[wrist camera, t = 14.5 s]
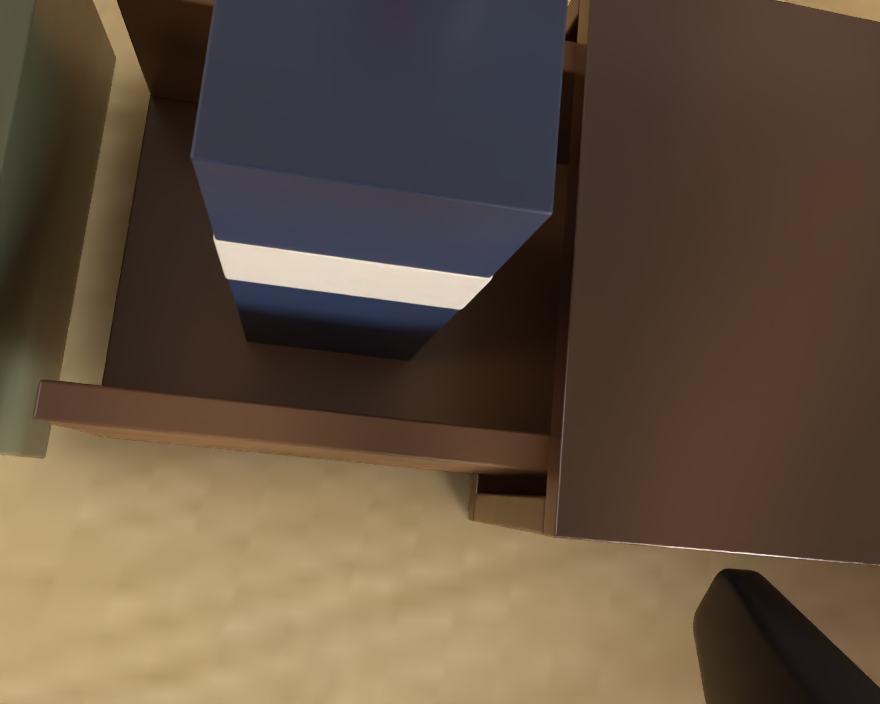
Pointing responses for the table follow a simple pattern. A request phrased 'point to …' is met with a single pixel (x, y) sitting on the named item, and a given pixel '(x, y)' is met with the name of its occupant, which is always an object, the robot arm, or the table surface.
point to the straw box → (374, 160)
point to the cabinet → (716, 286)
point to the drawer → (208, 291)
